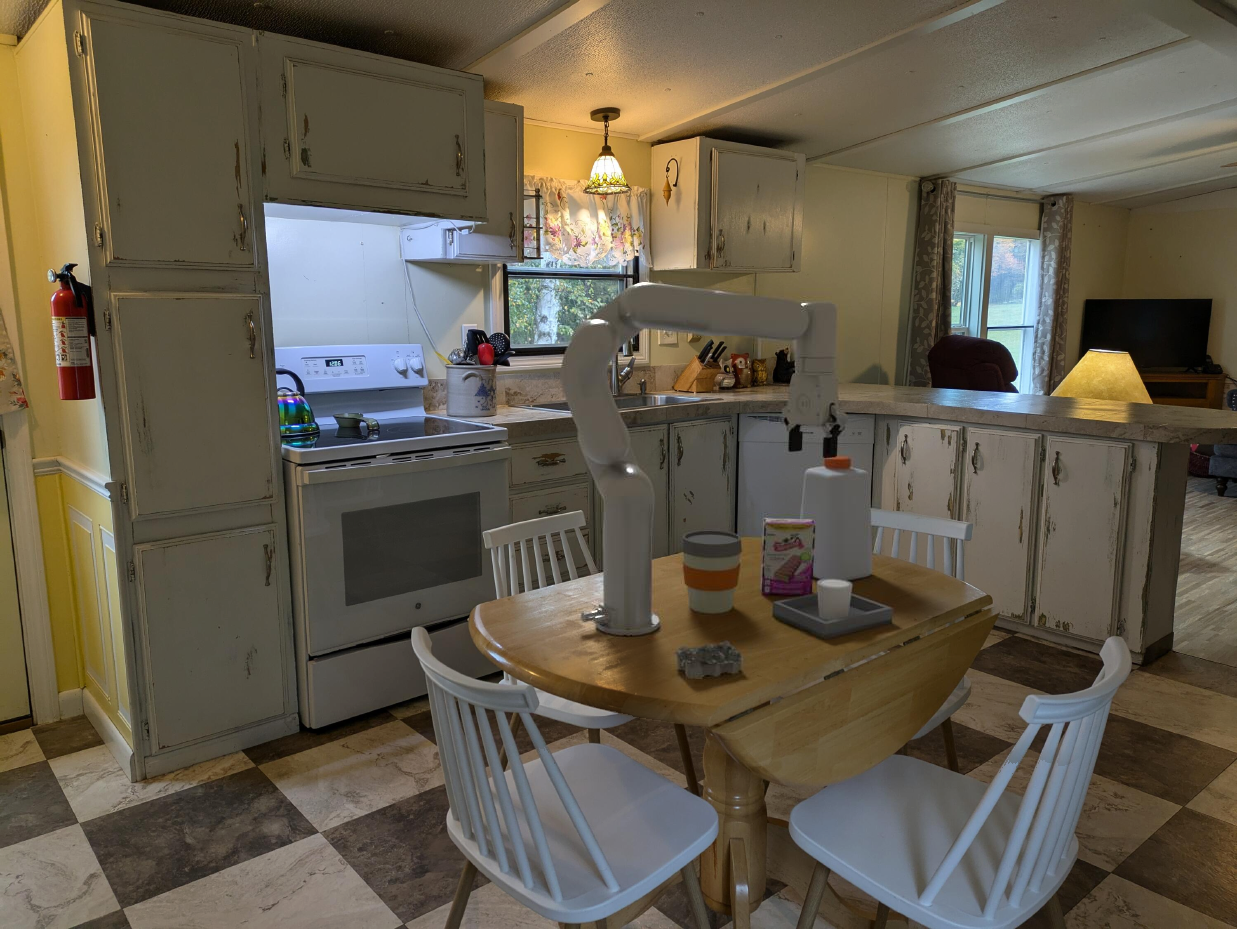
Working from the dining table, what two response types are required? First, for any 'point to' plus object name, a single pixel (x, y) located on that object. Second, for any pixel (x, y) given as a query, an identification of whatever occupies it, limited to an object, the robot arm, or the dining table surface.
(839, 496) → the plastic bottle
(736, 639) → the dining table surface
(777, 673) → the dining table surface
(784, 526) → the candy bar box
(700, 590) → the reusable coffee cup
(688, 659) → the egg carton
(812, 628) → the tray
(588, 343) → the robot arm
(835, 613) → the white cup
